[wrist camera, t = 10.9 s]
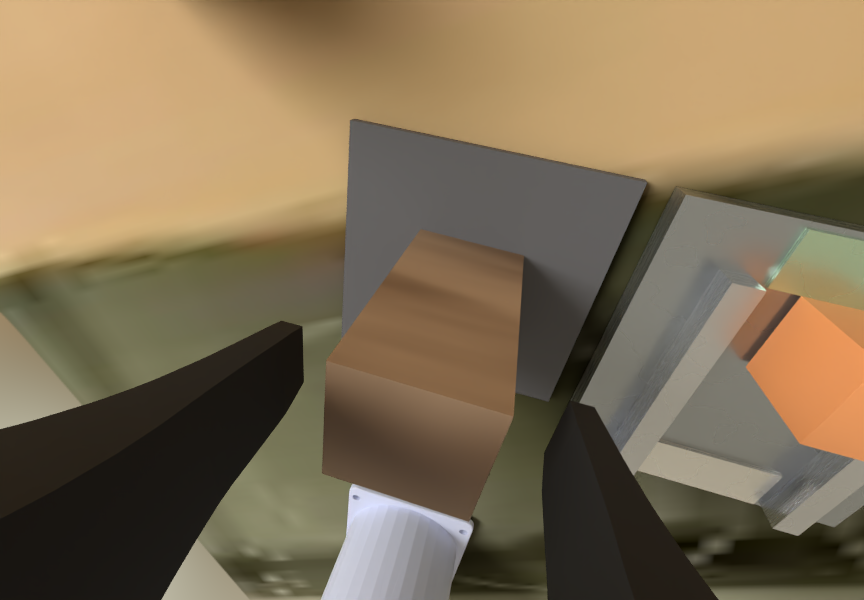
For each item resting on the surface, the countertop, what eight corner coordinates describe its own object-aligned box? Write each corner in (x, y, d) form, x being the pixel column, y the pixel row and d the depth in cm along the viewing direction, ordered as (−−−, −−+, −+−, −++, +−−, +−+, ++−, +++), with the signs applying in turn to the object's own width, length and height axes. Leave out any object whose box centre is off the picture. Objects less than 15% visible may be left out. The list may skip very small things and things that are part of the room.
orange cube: (836, 390, 14) (917, 475, 11) (745, 366, 14) (800, 443, 11) (905, 320, 12) (1022, 399, 9) (801, 295, 12) (881, 364, 9)
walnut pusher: (495, 339, 17) (469, 521, 10) (406, 313, 17) (322, 473, 10) (523, 255, 14) (513, 417, 8) (420, 229, 15) (326, 360, 8)
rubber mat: (547, 395, 18) (548, 401, 18) (344, 339, 19) (341, 344, 19) (644, 179, 13) (647, 182, 12) (354, 118, 14) (350, 119, 13)
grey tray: (820, 505, 18) (849, 551, 16) (555, 430, 19) (557, 465, 17) (1104, 276, 11) (1204, 312, 10) (676, 186, 13) (697, 204, 11)
